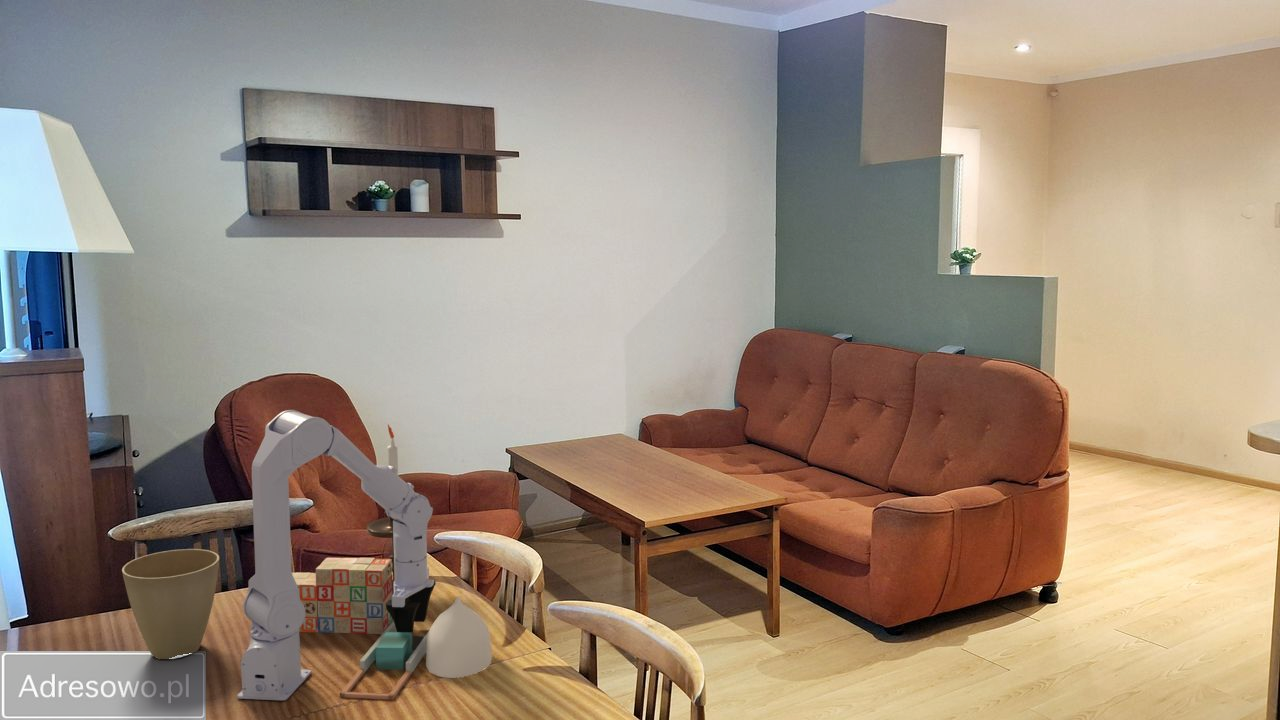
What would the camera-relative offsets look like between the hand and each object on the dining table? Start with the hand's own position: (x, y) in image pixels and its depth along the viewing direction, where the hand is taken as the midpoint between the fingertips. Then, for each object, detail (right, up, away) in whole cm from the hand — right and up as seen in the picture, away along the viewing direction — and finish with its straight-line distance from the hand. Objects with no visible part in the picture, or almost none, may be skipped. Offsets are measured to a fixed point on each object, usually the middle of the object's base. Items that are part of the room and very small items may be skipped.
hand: (412, 629), depth 164 cm
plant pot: (-40, -2, -6) cm, 40 cm away
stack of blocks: (-16, -1, +5) cm, 17 cm away
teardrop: (+10, -3, -9) cm, 14 cm away
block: (-1, -3, -9) cm, 10 cm away
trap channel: (-1, -3, -10) cm, 10 cm away
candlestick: (-8, +1, +21) cm, 22 cm away
